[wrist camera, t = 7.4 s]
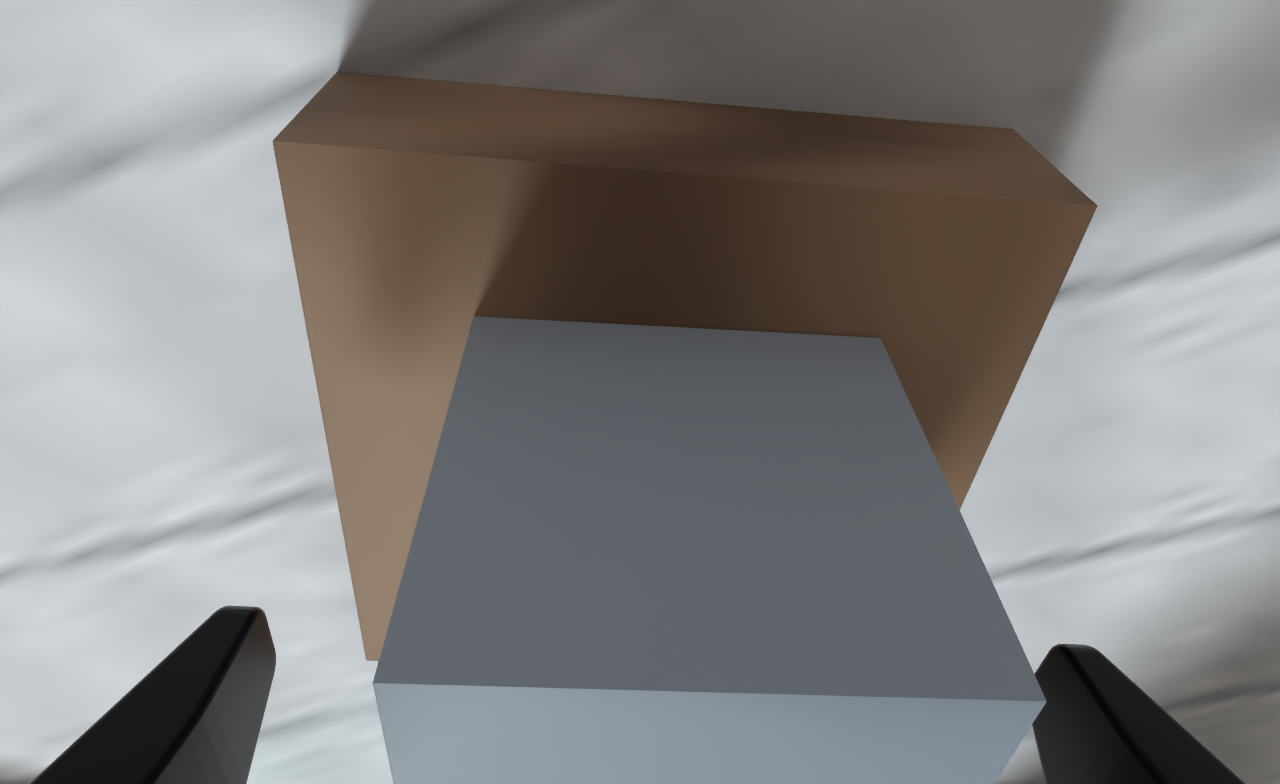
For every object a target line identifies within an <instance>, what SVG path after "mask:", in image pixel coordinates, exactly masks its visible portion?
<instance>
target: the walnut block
mask: <svg viewBox="0 0 1280 784" xmlns="http://www.w3.org/2000/svg"><path fill="white" fill-rule="evenodd" d="M273 146H274V151H275V157H276V162H277V168H278V173H279V179H280V185H281V190H282V196H283V201H284V207H285V212H286V218H287V223H288V229H289V234H290V240H291V246H292V251H293V257H294V262H295V268H296V273H297V279H298V284H299V290H300V296H301V301H302V307H303V312H304V318H305V323H306V329H307V334H308V340H309V346H310V351H311V357H312V362H313V368H314V373H315V379H316V384H317V390H318V395H319V401H320V407H321V412H322V418H323V423H324V429H325V434H326V440H327V445H328V451H329V457H330V462H331V468H332V473H333V479H334V484H335V490H336V495H337V501H338V506H339V512H340V518H341V523H342V529H343V534H344V540H345V545H346V551H347V556H348V562H349V568H350V573H351V579H352V584H353V590H354V595H355V601H356V606H357V612H358V617H359V623H360V629H361V634H362V640H363V645H364V651H365V656H366V660H370V661H379V659H380V655H381V651H382V648H383V644H384V641H385V637H386V633H387V630H388V626H389V622H390V619H391V615H392V611H393V608H394V604H395V601H396V597H397V593H398V590H399V586H400V582H401V579H402V575H403V571H404V568H405V564H406V560H407V557H408V553H409V550H410V546H411V542H412V539H413V535H414V531H415V528H416V524H417V520H418V517H419V513H420V509H421V506H422V502H423V499H424V495H425V491H426V488H427V484H428V480H429V477H430V473H431V469H432V466H433V462H434V458H435V455H436V451H437V448H438V444H439V440H440V437H441V433H442V429H443V426H444V422H445V418H446V415H447V411H448V407H449V404H450V400H451V397H452V393H453V389H454V386H455V382H456V378H457V375H458V371H459V367H460V364H461V360H462V356H463V353H464V349H465V346H466V342H467V338H468V335H469V331H470V327H471V324H472V320H473V316H476V317H495V318H514V319H533V320H552V321H571V322H590V323H608V324H627V325H646V326H665V327H684V328H703V329H722V330H741V331H760V332H778V333H797V334H816V335H835V336H854V337H873V338H881V340H882V342H883V345H884V347H885V349H886V351H887V353H888V356H889V358H890V360H891V362H892V364H893V366H894V369H895V371H896V373H897V375H898V377H899V380H900V382H901V384H902V386H903V388H904V391H905V393H906V395H907V397H908V399H909V401H910V404H911V406H912V408H913V410H914V412H915V415H916V417H917V419H918V421H919V423H920V425H921V428H922V430H923V432H924V434H925V436H926V439H927V441H928V443H929V445H930V447H931V450H932V452H933V454H934V456H935V458H936V460H937V463H938V465H939V467H940V469H941V471H942V474H943V476H944V478H945V480H946V482H947V485H948V487H949V489H950V491H951V493H952V495H953V498H954V500H955V502H956V504H957V506H958V509H959V510H960V508H961V506H962V504H963V501H964V499H965V497H966V495H967V492H968V490H969V488H970V486H971V484H972V481H973V479H974V477H975V475H976V473H977V470H978V468H979V466H980V464H981V462H982V459H983V457H984V455H985V453H986V451H987V448H988V446H989V444H990V442H991V439H992V437H993V435H994V433H995V431H996V428H997V426H998V424H999V422H1000V420H1001V417H1002V415H1003V413H1004V411H1005V409H1006V406H1007V404H1008V402H1009V400H1010V398H1011V395H1012V393H1013V391H1014V389H1015V387H1016V384H1017V382H1018V380H1019V378H1020V375H1021V373H1022V371H1023V369H1024V367H1025V364H1026V362H1027V360H1028V358H1029V356H1030V353H1031V351H1032V349H1033V347H1034V345H1035V342H1036V340H1037V338H1038V336H1039V334H1040V331H1041V329H1042V327H1043V325H1044V322H1045V320H1046V318H1047V316H1048V314H1049V311H1050V309H1051V307H1052V305H1053V303H1054V300H1055V298H1056V296H1057V294H1058V292H1059V289H1060V287H1061V285H1062V283H1063V281H1064V278H1065V276H1066V274H1067V272H1068V270H1069V267H1070V265H1071V263H1072V261H1073V258H1074V256H1075V254H1076V252H1077V250H1078V247H1079V245H1080V243H1081V241H1082V239H1083V236H1084V234H1085V232H1086V230H1087V228H1088V225H1089V223H1090V221H1091V219H1092V217H1093V214H1094V212H1095V210H1096V208H1097V205H1096V204H1095V203H1094V202H1093V201H1091V200H1090V199H1089V198H1088V197H1087V196H1086V195H1085V194H1084V193H1083V192H1081V191H1080V190H1079V189H1078V188H1077V187H1076V186H1075V185H1074V184H1073V183H1071V182H1070V181H1069V180H1068V179H1067V178H1066V177H1065V176H1064V175H1063V174H1062V173H1060V172H1059V171H1058V170H1057V169H1056V168H1055V167H1054V166H1053V165H1052V164H1050V163H1049V162H1048V161H1047V160H1046V159H1045V158H1044V157H1043V156H1042V155H1040V154H1039V153H1038V152H1037V151H1036V150H1035V149H1034V148H1033V147H1032V146H1030V145H1029V144H1028V143H1027V142H1026V141H1025V140H1024V139H1023V138H1022V137H1020V136H1019V135H1018V134H1017V133H1016V132H1015V131H1014V130H1013V129H1001V128H990V127H978V126H966V125H954V124H943V123H931V122H919V121H907V120H896V119H884V118H872V117H860V116H849V115H837V114H825V113H813V112H802V111H790V110H778V109H766V108H755V107H743V106H731V105H719V104H708V103H696V102H684V101H672V100H661V99H649V98H637V97H625V96H614V95H602V94H590V93H578V92H567V91H555V90H543V89H531V88H520V87H508V86H496V85H484V84H473V83H461V82H449V81H437V80H426V79H414V78H402V77H390V76H379V75H367V74H355V73H343V72H337V73H336V74H335V75H334V76H333V77H332V78H331V79H330V80H329V81H328V82H327V83H326V84H325V86H324V87H323V88H322V89H321V90H320V91H319V92H318V93H317V94H316V95H315V96H314V97H313V98H312V99H311V100H310V102H309V103H308V104H307V105H306V106H305V107H304V108H303V109H302V110H301V111H300V112H299V113H298V114H297V115H296V116H295V118H294V119H293V120H292V121H291V122H290V123H289V124H288V125H287V126H286V127H285V128H284V129H283V130H282V131H281V132H280V133H279V135H278V136H277V137H276V138H275V139H274V140H273Z"/></svg>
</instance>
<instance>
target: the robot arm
mask: <svg viewBox="0 0 1280 784" xmlns="http://www.w3.org/2000/svg"><path fill="white" fill-rule="evenodd" d="M275 665H276V653H275V648H274V644H273V641H272V637H271V633H270V630H269V626H268V622H267V619H266V615H265V613H264V611H263V610H262V609H260V608H259V607H247V606H225V607H223V608H220V609H219V610H217V611H216V612H215V613H214V614H212V615H211V616H210V617H209V618H208V619H207V620H206V621H205V622H204V623H203V624H202V625H201V626H199V627H198V628H197V629H196V630H195V631H194V632H193V633H192V634H191V635H190V636H189V637H188V638H187V639H185V640H184V641H183V642H182V643H181V644H180V645H179V646H178V647H177V648H176V649H175V650H174V651H172V652H171V653H170V654H169V655H168V656H167V657H166V658H165V659H164V660H163V661H162V662H161V663H159V664H158V665H157V666H156V667H155V668H154V669H153V670H152V671H151V672H150V673H149V674H148V675H147V676H145V677H144V678H143V679H142V680H141V681H140V682H139V683H138V684H137V685H136V686H135V687H134V688H132V689H131V690H130V691H129V692H128V693H127V694H126V695H125V696H124V697H123V698H122V699H121V700H120V701H118V702H117V703H116V704H115V705H114V706H113V707H112V708H111V709H110V710H109V711H108V712H107V713H105V714H104V715H103V716H102V717H101V718H100V719H99V720H98V721H97V722H96V723H95V724H94V725H93V726H91V727H90V728H89V729H88V730H87V731H86V732H85V733H84V734H83V735H82V736H81V737H80V738H78V739H77V740H76V741H75V742H74V743H73V744H72V745H71V746H70V747H69V748H68V749H67V750H66V751H64V752H63V753H62V754H61V755H60V756H59V757H58V758H57V759H56V760H55V761H54V762H53V763H51V764H50V765H49V766H48V767H47V768H46V769H45V770H44V771H43V772H42V773H41V774H40V775H39V776H37V777H36V778H35V779H34V780H33V781H32V782H31V783H30V784H246V783H247V779H248V775H249V771H250V767H251V763H252V759H253V755H254V751H255V747H256V743H257V739H258V735H259V732H260V728H261V724H262V720H263V716H264V712H265V708H266V704H267V700H268V696H269V692H270V688H271V684H272V680H273V676H274V672H275ZM1034 675H1035V677H1036V679H1037V681H1038V683H1039V686H1040V688H1041V690H1042V692H1043V694H1044V697H1045V699H1046V701H1047V702H1046V703H1045V705H1044V707H1043V708H1042V710H1041V711H1040V713H1039V714H1038V716H1037V717H1036V719H1035V721H1034V722H1033V724H1032V726H1033V730H1034V735H1035V739H1036V743H1037V748H1038V752H1039V756H1040V760H1041V765H1042V769H1043V773H1044V778H1045V782H1046V784H1245V783H1244V782H1243V781H1242V780H1240V779H1239V778H1238V777H1237V776H1236V775H1235V774H1234V773H1233V772H1232V771H1231V770H1229V769H1228V768H1227V767H1226V766H1225V765H1224V764H1223V763H1222V762H1221V761H1220V760H1218V759H1217V758H1216V757H1215V756H1214V755H1213V754H1212V753H1211V752H1210V751H1209V750H1207V749H1206V748H1205V747H1204V746H1203V745H1202V744H1201V743H1200V742H1199V741H1198V740H1196V739H1195V738H1194V737H1193V736H1192V735H1191V734H1190V733H1189V732H1188V731H1186V730H1185V729H1184V728H1183V727H1182V726H1181V725H1180V724H1179V723H1178V722H1177V721H1175V720H1174V719H1173V718H1172V717H1171V716H1170V715H1169V714H1168V713H1167V712H1166V711H1164V710H1163V709H1162V708H1161V707H1160V706H1159V705H1158V704H1157V703H1156V702H1155V701H1153V700H1152V699H1151V698H1150V697H1149V696H1148V695H1147V694H1146V693H1145V692H1144V691H1142V690H1141V689H1140V688H1139V687H1138V686H1137V685H1136V684H1135V683H1134V682H1132V681H1131V680H1130V679H1129V678H1128V677H1127V676H1126V675H1125V674H1124V673H1123V672H1121V671H1120V670H1119V669H1118V668H1117V667H1116V666H1115V665H1114V664H1113V663H1112V662H1110V661H1109V660H1108V659H1107V658H1106V657H1105V656H1104V655H1103V654H1102V653H1100V652H1099V651H1098V650H1096V649H1095V648H1093V647H1091V646H1087V645H1076V644H1058V645H1056V646H1054V647H1052V648H1051V650H1050V651H1049V652H1048V654H1047V655H1046V657H1045V659H1044V660H1043V662H1042V663H1041V665H1040V666H1039V668H1038V669H1037V671H1036V672H1035V674H1034Z"/></svg>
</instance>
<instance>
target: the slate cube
mask: <svg viewBox="0 0 1280 784" xmlns="http://www.w3.org/2000/svg"><path fill="white" fill-rule="evenodd" d="M373 686H374V691H375V696H376V701H377V706H378V711H379V715H380V720H381V725H382V730H383V735H384V740H385V744H386V749H387V754H388V759H389V764H390V769H391V773H392V778H393V783H394V784H994V783H995V781H996V780H997V778H998V777H999V775H1000V773H1001V772H1002V770H1003V769H1004V767H1005V766H1006V764H1007V763H1008V761H1009V759H1010V758H1011V756H1012V755H1013V753H1014V752H1015V750H1016V749H1017V747H1018V745H1019V744H1020V742H1021V741H1022V739H1023V738H1024V736H1025V735H1026V733H1027V731H1028V730H1029V728H1030V727H1031V725H1032V724H1033V722H1034V721H1035V719H1036V717H1037V716H1038V714H1039V713H1040V711H1041V710H1042V708H1043V707H1044V705H1045V703H1046V702H1047V701H1046V699H1045V697H1044V694H1043V692H1042V690H1041V688H1040V686H1039V683H1038V681H1037V679H1036V677H1035V675H1034V673H1033V670H1032V668H1031V666H1030V664H1029V662H1028V659H1027V657H1026V655H1025V653H1024V651H1023V648H1022V646H1021V644H1020V642H1019V640H1018V638H1017V635H1016V633H1015V631H1014V629H1013V627H1012V624H1011V622H1010V620H1009V618H1008V616H1007V614H1006V611H1005V609H1004V607H1003V605H1002V603H1001V600H1000V598H999V596H998V594H997V592H996V589H995V587H994V585H993V583H992V581H991V579H990V576H989V574H988V572H987V570H986V568H985V565H984V563H983V561H982V559H981V557H980V554H979V552H978V550H977V548H976V546H975V544H974V541H973V539H972V537H971V535H970V533H969V530H968V528H967V526H966V524H965V522H964V520H963V517H962V515H961V513H960V511H959V509H958V506H957V504H956V502H955V500H954V498H953V495H952V493H951V491H950V489H949V487H948V485H947V482H946V480H945V478H944V476H943V474H942V471H941V469H940V467H939V465H938V463H937V460H936V458H935V456H934V454H933V452H932V450H931V447H930V445H929V443H928V441H927V439H926V436H925V434H924V432H923V430H922V428H921V425H920V423H919V421H918V419H917V417H916V415H915V412H914V410H913V408H912V406H911V404H910V401H909V399H908V397H907V395H906V393H905V391H904V388H903V386H902V384H901V382H900V380H899V377H898V375H897V373H896V371H895V369H894V366H893V364H892V362H891V360H890V358H889V356H888V353H887V351H886V349H885V347H884V345H883V342H882V340H881V338H873V337H854V336H835V335H816V334H797V333H778V332H760V331H741V330H722V329H703V328H684V327H665V326H646V325H627V324H608V323H590V322H571V321H552V320H533V319H514V318H495V317H476V316H473V320H472V324H471V327H470V331H469V335H468V338H467V342H466V346H465V349H464V353H463V356H462V360H461V364H460V367H459V371H458V375H457V378H456V382H455V386H454V389H453V393H452V397H451V400H450V404H449V407H448V411H447V415H446V418H445V422H444V426H443V429H442V433H441V437H440V440H439V444H438V448H437V451H436V455H435V458H434V462H433V466H432V469H431V473H430V477H429V480H428V484H427V488H426V491H425V495H424V499H423V502H422V506H421V509H420V513H419V517H418V520H417V524H416V528H415V531H414V535H413V539H412V542H411V546H410V550H409V553H408V557H407V560H406V564H405V568H404V571H403V575H402V579H401V582H400V586H399V590H398V593H397V597H396V601H395V604H394V608H393V611H392V615H391V619H390V622H389V626H388V630H387V633H386V637H385V641H384V644H383V648H382V651H381V655H380V659H379V662H378V666H377V670H376V673H375V677H374V681H373Z"/></svg>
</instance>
